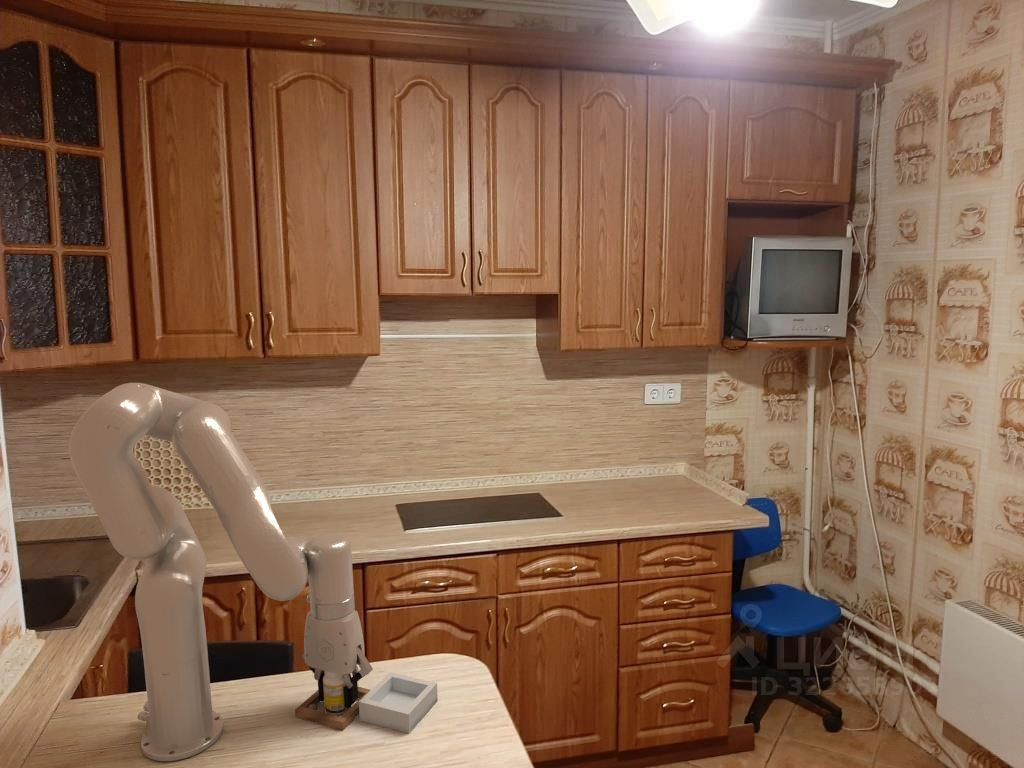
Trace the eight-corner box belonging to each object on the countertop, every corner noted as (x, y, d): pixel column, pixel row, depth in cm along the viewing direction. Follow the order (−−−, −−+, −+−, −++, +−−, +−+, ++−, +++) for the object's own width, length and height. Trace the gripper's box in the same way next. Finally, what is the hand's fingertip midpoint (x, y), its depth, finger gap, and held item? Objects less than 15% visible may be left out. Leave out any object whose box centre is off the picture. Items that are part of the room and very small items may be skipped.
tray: (295, 717, 125) (294, 707, 124) (330, 687, 134) (330, 678, 134) (342, 730, 121) (342, 720, 121) (375, 698, 130) (375, 689, 130)
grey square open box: (359, 720, 124) (358, 701, 123) (390, 689, 133) (389, 672, 132) (409, 733, 120) (408, 714, 119) (437, 700, 129) (437, 683, 129)
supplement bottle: (340, 697, 131) (338, 654, 129) (357, 706, 128) (355, 663, 126) (319, 709, 127) (316, 665, 126) (335, 719, 124) (333, 675, 123)
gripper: (279, 606, 124) (286, 702, 127) (360, 623, 118) (366, 723, 121) (307, 589, 131) (313, 680, 134) (385, 603, 125) (390, 699, 127)
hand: (338, 699), depth 127 cm, fingers closed on supplement bottle, 4 cm apart
